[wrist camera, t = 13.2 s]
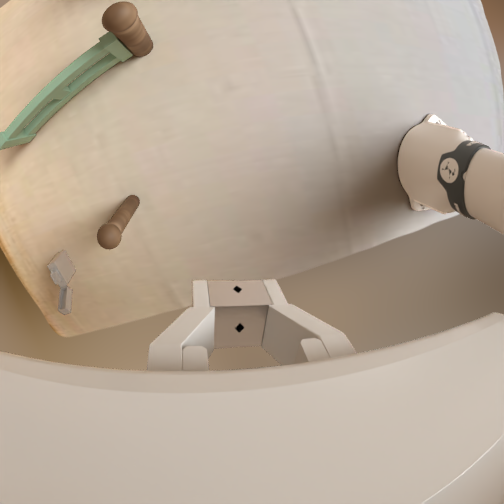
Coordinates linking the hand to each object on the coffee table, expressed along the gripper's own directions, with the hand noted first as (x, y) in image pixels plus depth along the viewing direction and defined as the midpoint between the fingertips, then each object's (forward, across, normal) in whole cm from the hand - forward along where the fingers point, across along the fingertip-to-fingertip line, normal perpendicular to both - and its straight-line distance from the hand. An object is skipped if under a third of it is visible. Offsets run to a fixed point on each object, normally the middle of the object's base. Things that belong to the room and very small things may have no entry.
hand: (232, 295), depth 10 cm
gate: (+28, -19, +11) cm, 36 cm away
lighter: (+29, -22, -16) cm, 40 cm away
